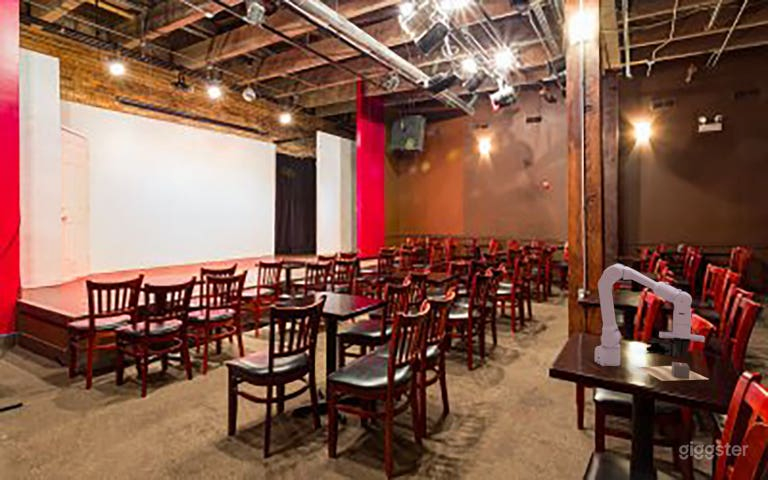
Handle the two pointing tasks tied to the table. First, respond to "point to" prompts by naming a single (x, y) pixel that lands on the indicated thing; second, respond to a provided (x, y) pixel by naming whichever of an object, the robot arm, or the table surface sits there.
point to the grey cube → (680, 370)
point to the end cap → (661, 348)
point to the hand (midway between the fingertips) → (680, 357)
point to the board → (668, 373)
